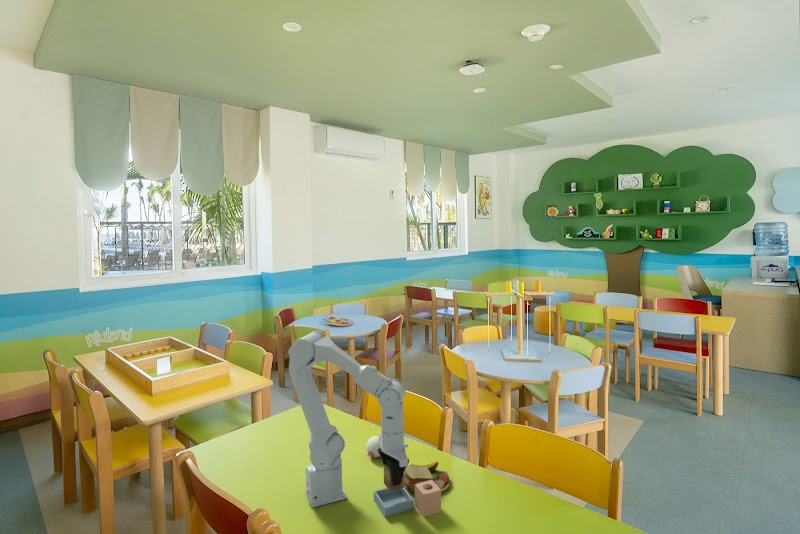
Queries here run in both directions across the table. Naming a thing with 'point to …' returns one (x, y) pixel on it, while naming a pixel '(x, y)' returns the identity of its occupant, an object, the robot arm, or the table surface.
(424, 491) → the terracotta block
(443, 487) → the toy sandwich meal
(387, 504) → the tray
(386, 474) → the walnut block
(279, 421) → the table surface
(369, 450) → the stress ball
